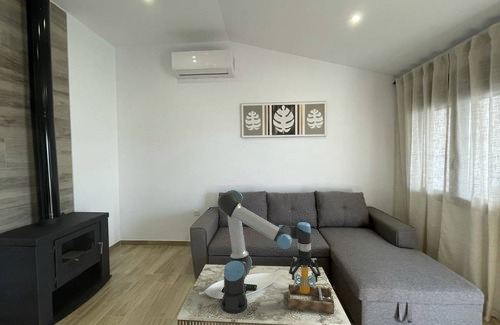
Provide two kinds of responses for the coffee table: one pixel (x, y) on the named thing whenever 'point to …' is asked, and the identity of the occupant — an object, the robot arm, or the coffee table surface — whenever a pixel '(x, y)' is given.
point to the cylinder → (304, 280)
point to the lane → (311, 304)
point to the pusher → (321, 296)
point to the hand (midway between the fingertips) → (304, 286)
